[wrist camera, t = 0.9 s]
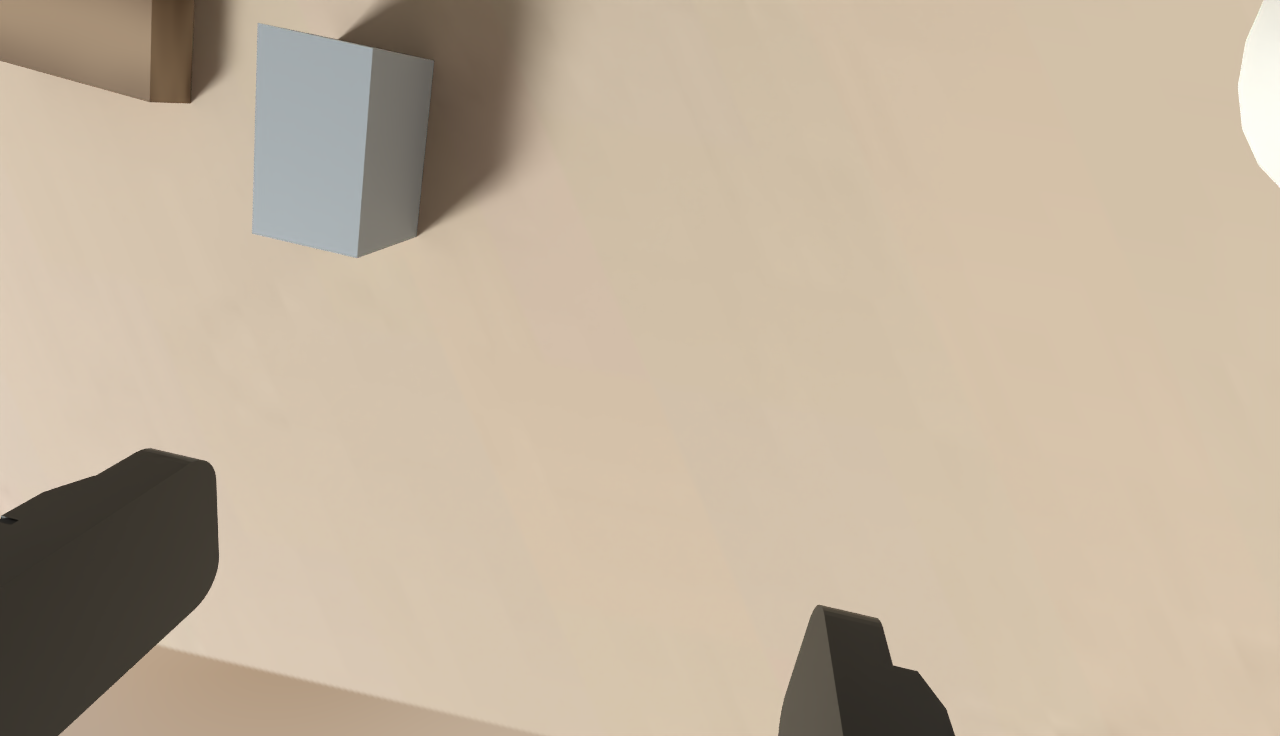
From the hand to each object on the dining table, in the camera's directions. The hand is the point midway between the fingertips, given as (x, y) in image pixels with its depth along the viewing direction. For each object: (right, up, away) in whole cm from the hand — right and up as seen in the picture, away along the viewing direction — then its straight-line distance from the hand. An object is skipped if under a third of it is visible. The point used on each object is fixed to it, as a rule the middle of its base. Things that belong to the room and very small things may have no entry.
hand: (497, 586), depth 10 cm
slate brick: (-10, +13, +25) cm, 30 cm away
